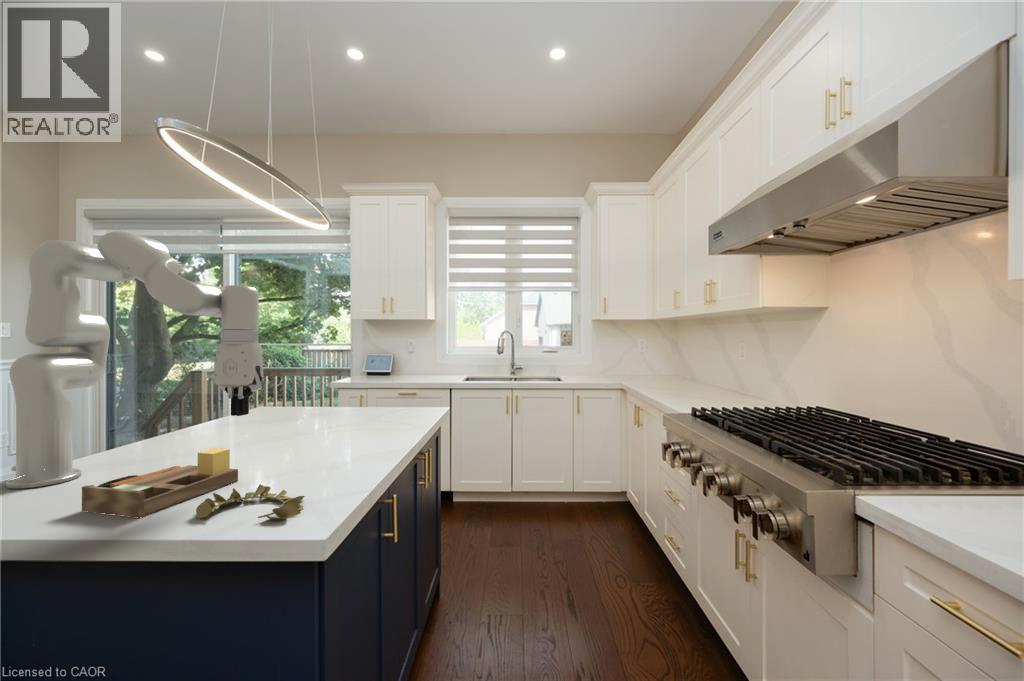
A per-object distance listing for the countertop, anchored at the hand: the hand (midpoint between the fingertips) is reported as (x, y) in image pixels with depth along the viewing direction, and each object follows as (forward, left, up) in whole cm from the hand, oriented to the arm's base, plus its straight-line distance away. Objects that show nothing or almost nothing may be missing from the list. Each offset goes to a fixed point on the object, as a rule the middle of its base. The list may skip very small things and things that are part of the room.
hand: (239, 414), depth 103 cm
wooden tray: (-11, -8, -17) cm, 22 cm away
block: (-7, 0, -14) cm, 16 cm away
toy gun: (-28, -2, -18) cm, 33 cm away
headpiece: (+15, -10, -18) cm, 25 cm away
